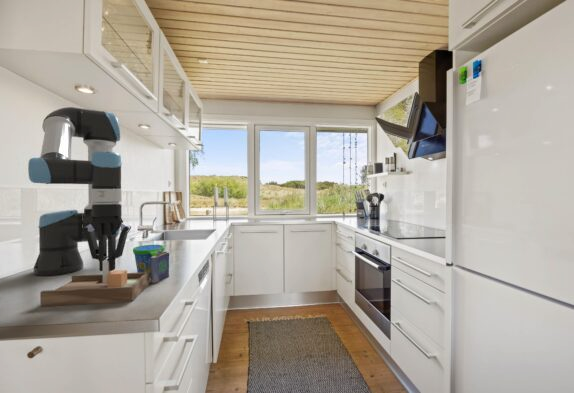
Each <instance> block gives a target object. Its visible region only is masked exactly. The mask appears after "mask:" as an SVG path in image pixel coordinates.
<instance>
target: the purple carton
mask: <svg viewBox="0 0 574 393" xmlns="http://www.w3.org/2000/svg"><path fill="white" fill-rule="evenodd" d="M161 251H162V250H159V249H158V252H157V255H155V256H152V257H151V276H150V285H152V284H154V285H155V284H159V283H160V282H162V281H164V280H166V279H168V278H169V277H170V252H168V251H163V252H161Z"/></svg>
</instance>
